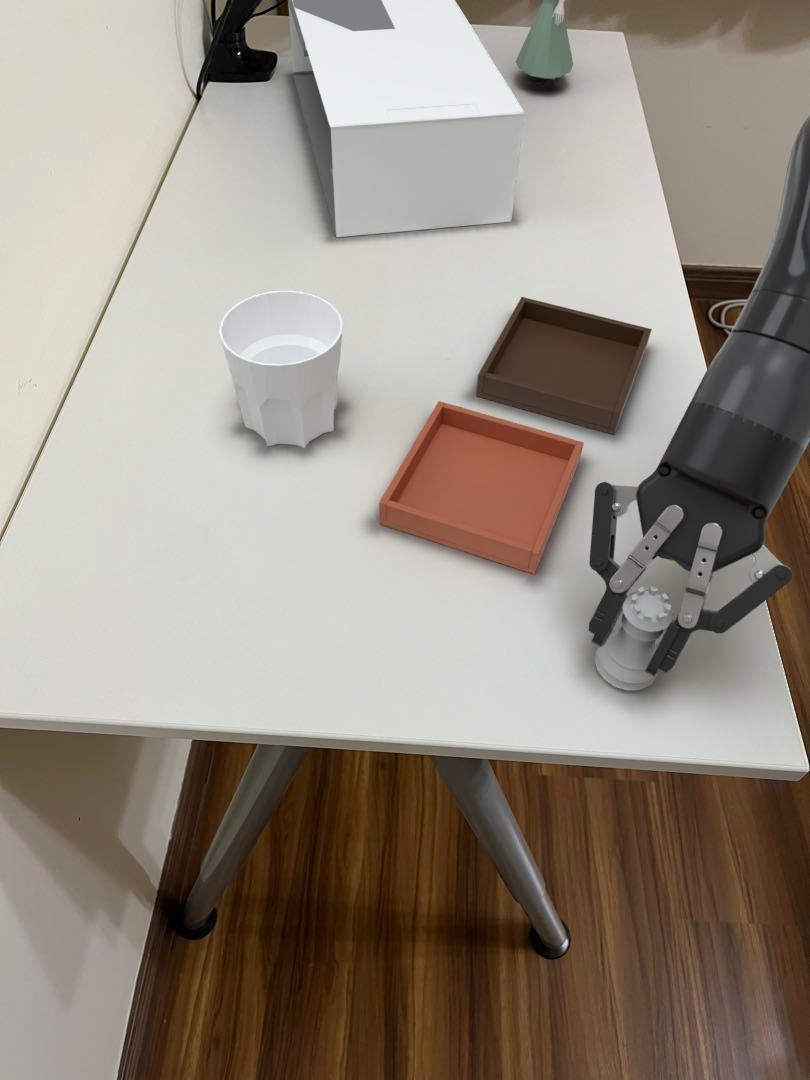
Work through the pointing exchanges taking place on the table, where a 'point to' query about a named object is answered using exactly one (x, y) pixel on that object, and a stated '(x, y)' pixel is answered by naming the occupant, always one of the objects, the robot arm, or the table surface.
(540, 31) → the character figurine
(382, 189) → the white box
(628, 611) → the rook chess piece
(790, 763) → the table surface
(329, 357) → the cup
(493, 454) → the terracotta tray
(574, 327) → the walnut tray
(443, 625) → the table surface
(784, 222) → the robot arm
